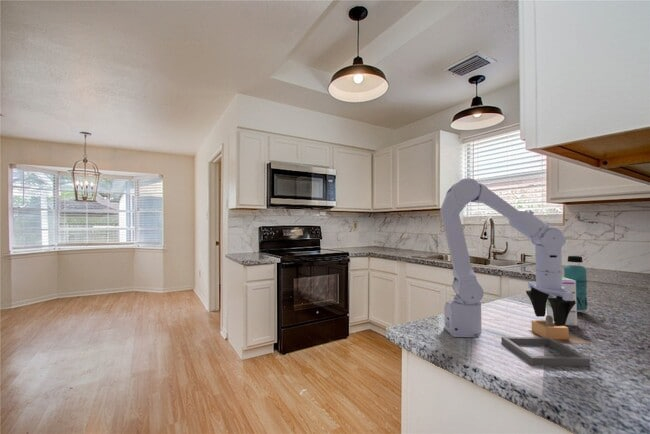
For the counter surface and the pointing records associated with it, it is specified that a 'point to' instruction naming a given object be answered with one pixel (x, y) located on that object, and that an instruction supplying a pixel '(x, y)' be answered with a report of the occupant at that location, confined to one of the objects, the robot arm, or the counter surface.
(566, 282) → the syrup box
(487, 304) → the counter surface
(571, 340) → the stake board
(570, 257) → the beverage bottle
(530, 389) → the counter surface
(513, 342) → the tray
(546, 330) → the ring
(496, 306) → the counter surface
